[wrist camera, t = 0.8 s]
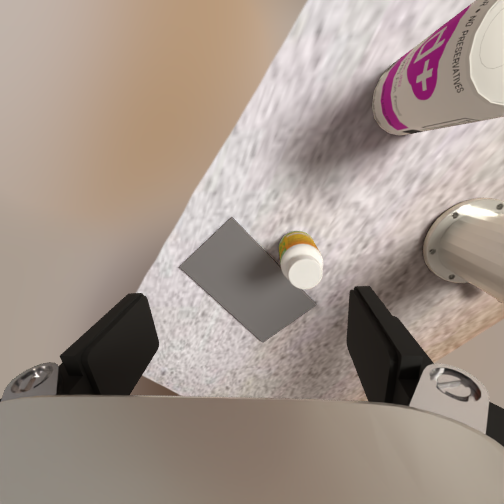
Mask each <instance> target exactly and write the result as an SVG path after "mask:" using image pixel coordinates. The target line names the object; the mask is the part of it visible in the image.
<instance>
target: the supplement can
mask: <svg viewBox="0 0 504 504" xmlns="http://www.w3.org/2000/svg"><path fill="white" fill-rule="evenodd" d="M372 108H373V114H374V118H375V120H376V121H377V123H378V125H379V126H380V128H382V129H383V130H385V131H386V132H388V133H389V134H394V135H400V136H401V135H406V134H412V133H417V132H423V131H428V130H434V129H439V128H445V127H450V126H455V125H461V124H466V123H472V122H477V121H483V120H488V119H493V118H498V117H504V0H476V1H474V2H473V3H472V4H471V5H469V6H468V7H467V8H465V9H464V10H463V11H461V12H460V13H459V14H457V15H456V16H455V17H454V18H452V19H451V20H450V21H448V22H447V23H446V24H444V25H443V26H442V27H440V28H439V29H438V30H437V31H435V32H434V33H433V34H431V35H430V36H429V37H427V38H426V39H425V40H424V41H422V42H421V43H420V44H418V45H417V46H416V47H414V48H413V49H412V50H410V51H409V52H408V53H407V54H405V55H404V56H403V57H401V58H400V59H399V60H397V61H396V62H395V63H393V64H392V65H391V66H390V67H389V68H388V69H387V70H386V71H385V73H384V74H383V75H382V76H381V77H380V79H379V81H378V83H377V86H376V88H375V90H374V94H373V101H372Z"/></svg>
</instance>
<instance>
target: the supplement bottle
mask: <svg viewBox="0 0 504 504" xmlns="http://www.w3.org/2000/svg"><path fill="white" fill-rule="evenodd" d="M279 256H280V264H281V270H282V272H283V274H284V276H285V277H286V278H287V279H288V280H289V281H290V282H291V284H292V285H293V286H295V287H297V288H299V289H310V288H313V287H315V286H316V285H317V284H318V283H319V282H320V281H321V278H322V269H323V258H322V256H321V254H320V252H319V250H318V248H317V247H316V245H315V243H314V241H313V239H312V238H311V237H310V236H309V235H308V234H307V233H305V232H303V231H291V232H289V233H287V234H286V235H284V236H283V237H282V239H281V241H280V243H279Z"/></svg>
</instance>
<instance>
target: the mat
mask: <svg viewBox="0 0 504 504" xmlns="http://www.w3.org/2000/svg"><path fill="white" fill-rule="evenodd" d="M180 268H181V269H182V270H183V271H184V272H185V273H186V274H188V275H189V276H190V277H191V278H192V279H193V280H194V281H195V282H196V283H197V284H199V285H200V286H201V287H202V288H203V289H204V290H205V291H206V292H207V293H209V294H210V295H211V296H212V297H213V298H214V299H215V300H216V301H217V302H218V303H220V304H221V305H222V306H223V307H224V308H225V309H226V310H227V311H228V312H229V313H231V314H232V315H233V316H234V317H235V318H236V319H237V320H238V321H239V322H241V323H242V324H243V325H244V326H245V327H246V328H247V329H248V330H249V331H250V332H252V333H253V334H254V335H255V336H256V337H257V338H258V339H259V340H260V341H261V342H265V341H266V340H267V339H269V338H270V337H272V336H273V335H275V334H276V333H277V332H279V331H280V330H282V329H283V328H285V327H286V326H287V325H289V324H290V323H292V322H293V321H295V320H296V319H297V318H299V317H300V316H302V315H303V314H305V313H306V312H307V311H309V310H310V309H312V308H313V307H315V306H316V303H315V302H314V301H313V300H312V299H311V298H310V297H309V296H308V295H307V294H306V293H305V292H304V291H303V290H302V289H299V288H297V287H295V286H293V285H292V284H291V282H290V281H289V280H288V279H287V278H286V277H285V276H284V274H283V272H282V270H281V267H280V266H279V265H278V264H277V263H276V262H275V261H274V260H273V259H272V258H271V257H270V256H269V255H268V254H267V253H266V251H265V250H264V249H263V248H262V247H261V246H260V245H259V244H258V243H257V242H256V241H255V240H254V239H253V238H252V237H251V236H250V235H249V234H248V233H247V232H246V231H245V230H244V229H243V228H242V227H241V226H240V225H239V224H238V223H237V221H236V220H235V219H234V218H233V217H231V218H230V219H229V220H228V221H227V222H226V223H225V224H224V225H223V226H222V227H221V228H220V229H219V230H218V231H217V232H215V233H214V234H213V235H212V236H211V237H210V238H209V239H208V240H207V241H206V242H205V243H204V244H203V245H202V246H201V247H200V248H199V249H198V250H196V251H195V252H194V253H193V254H192V255H191V256H190V257H189V258H188V259H187V260H186V261H185V262H184V263H183V264H182V265H181V266H180Z"/></svg>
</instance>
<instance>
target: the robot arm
mask: <svg viewBox="0 0 504 504" xmlns="http://www.w3.org/2000/svg"><path fill="white" fill-rule="evenodd" d="M423 256H424V260H425V263H426V264H427V266H428V268H429V269H430V270H431V271H432V272H433V273H434V274H436V275H437V276H438V277H440V278H442V279H444V280H446V281H450V282H453V283H471V284H473V285H474V286H476V287H478V288H479V289H481V290H483V291H484V292H486V293H488V294H489V295H491V296H492V297H494V298H496V299H497V300H498V301H499V302H501V303H504V201H502V200H497V199H492V198H477V199H471V200H468V201H464V202H462V203H459V204H457V205H455V206H453V207H452V208H450V209H449V210H447V211H446V212H444V213H443V214H442V215H441V216H440V217H439V218H438V219H437V220H436V221H435V222H434V224H433V225H432V226H431V228H430V230H429V231H428V233H427V235H426V238H425V241H424V246H423ZM158 347H159V340H158V336H157V333H156V329H155V325H154V321H153V318H152V314H151V310H150V307H149V303H148V299H147V297H146V296H144V295H143V294H142V293H131V294H128V295H126V297H124V298H123V299H122V300H121V301H120V302H119V303H118V304H116V305H115V306H114V307H113V308H112V309H111V310H110V311H109V312H108V313H107V314H106V315H104V317H102V318H101V319H100V320H99V321H98V322H97V323H96V324H95V325H94V326H92V327H91V328H90V329H89V330H88V331H87V332H86V333H84V334H83V335H82V336H81V337H80V338H79V339H78V340H77V341H76V342H75V343H73V344H72V345H71V346H70V347H69V348H68V349H67V350H66V351H65V352H64V353H63V354H61V355H60V358H61V360H62V362H63V363H62V364H61V365H60V366H58V365H57V364H56V363H51V362H49V363H43V364H40V365H37V366H34V367H32V368H30V369H28V370H26V371H25V372H23V373H21V374H19V375H18V376H17V377H16V378H14V379H13V380H12V381H11V382H10V383H9V384H8V385H7V387H6V389H5V390H4V393H3V396H2V398H1V399H0V504H504V409H503V408H501V407H499V406H497V405H495V404H493V403H491V402H489V394H488V391H487V390H486V388H485V387H484V386H483V384H482V383H481V382H480V381H479V380H478V379H476V378H475V377H474V376H472V375H470V374H469V373H467V372H465V371H463V370H461V369H459V368H457V367H454V366H450V365H446V364H434V363H433V362H432V361H431V359H430V358H429V357H428V356H427V354H426V353H425V352H424V350H423V349H422V348H421V347H420V345H419V344H418V343H417V342H416V340H415V339H414V338H413V336H412V335H411V334H410V333H409V331H408V330H407V329H406V328H405V326H404V325H403V324H402V322H401V321H400V320H399V319H398V318H397V317H395V316H392V315H391V313H390V312H389V311H388V309H387V308H386V307H385V305H384V304H383V303H382V301H381V300H380V299H379V298H378V296H377V295H376V294H375V292H374V291H373V290H372V288H371V287H370V286H355V288H354V290H350V296H349V312H348V328H347V347H348V350H349V353H350V355H351V358H352V360H353V363H354V365H355V368H356V371H357V373H358V376H359V378H360V381H361V383H362V386H363V388H364V391H365V394H366V396H367V399H368V401H369V402H368V401H352V400H324V399H290V398H250V397H202V396H138V395H130V393H131V392H132V390H133V389H134V387H135V385H136V384H137V382H138V380H139V379H140V377H141V376H142V374H143V372H144V371H145V369H146V368H147V366H148V364H149V363H150V361H151V360H152V358H153V356H154V355H155V353H156V351H157V350H158Z"/></svg>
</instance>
